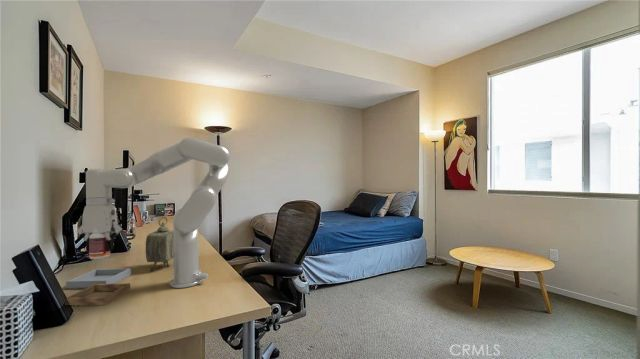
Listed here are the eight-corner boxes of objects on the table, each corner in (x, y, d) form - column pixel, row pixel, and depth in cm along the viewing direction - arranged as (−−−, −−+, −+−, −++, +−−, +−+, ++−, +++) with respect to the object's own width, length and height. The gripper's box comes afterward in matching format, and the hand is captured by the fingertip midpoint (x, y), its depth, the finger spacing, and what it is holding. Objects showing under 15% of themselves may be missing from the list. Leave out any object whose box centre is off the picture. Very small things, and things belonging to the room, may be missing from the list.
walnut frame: (130, 289, 110) (130, 283, 110) (105, 304, 97) (105, 297, 97) (94, 290, 110) (94, 284, 110) (64, 305, 96) (64, 298, 96)
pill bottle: (109, 257, 103) (109, 227, 103) (88, 260, 99) (87, 229, 99) (111, 254, 108) (110, 225, 108) (90, 256, 105) (90, 227, 105)
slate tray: (130, 275, 128) (130, 268, 128) (106, 288, 112) (106, 280, 112) (95, 275, 127) (95, 269, 127) (66, 289, 112) (66, 281, 112)
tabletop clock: (163, 262, 147) (163, 215, 147) (180, 262, 147) (180, 215, 147) (145, 271, 132) (145, 219, 133) (164, 271, 132) (163, 219, 132)
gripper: (129, 201, 108) (130, 247, 108) (83, 201, 107) (83, 248, 107) (116, 202, 100) (117, 252, 100) (66, 203, 100) (67, 253, 100)
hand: (99, 250), depth 104 cm, fingers closed on pill bottle, 6 cm apart
